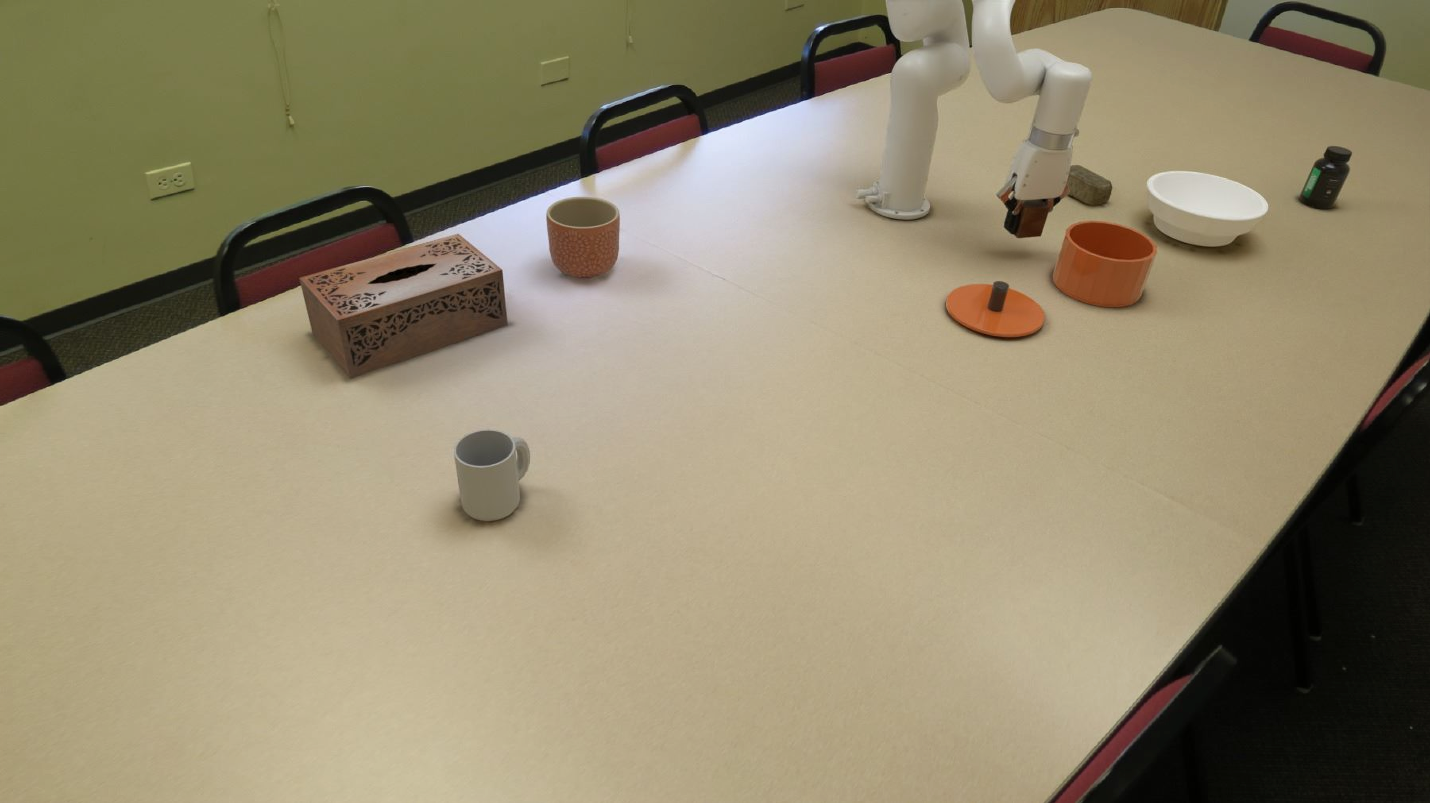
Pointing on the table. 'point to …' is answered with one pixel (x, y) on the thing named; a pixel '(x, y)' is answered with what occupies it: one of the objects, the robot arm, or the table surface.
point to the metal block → (1032, 218)
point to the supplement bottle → (1326, 178)
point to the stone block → (1088, 186)
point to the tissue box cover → (404, 303)
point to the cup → (490, 472)
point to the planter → (583, 235)
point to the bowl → (1203, 207)
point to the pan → (1104, 263)
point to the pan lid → (995, 310)
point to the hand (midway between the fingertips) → (1022, 229)
